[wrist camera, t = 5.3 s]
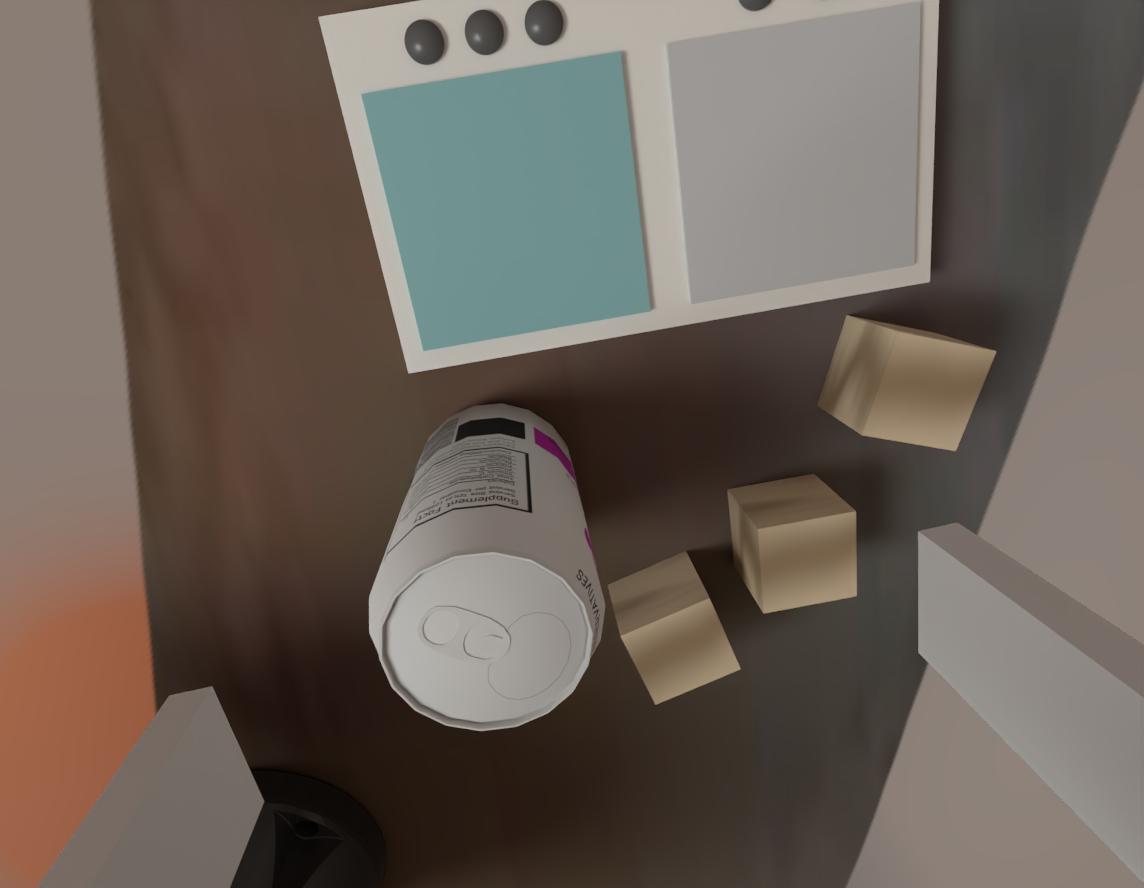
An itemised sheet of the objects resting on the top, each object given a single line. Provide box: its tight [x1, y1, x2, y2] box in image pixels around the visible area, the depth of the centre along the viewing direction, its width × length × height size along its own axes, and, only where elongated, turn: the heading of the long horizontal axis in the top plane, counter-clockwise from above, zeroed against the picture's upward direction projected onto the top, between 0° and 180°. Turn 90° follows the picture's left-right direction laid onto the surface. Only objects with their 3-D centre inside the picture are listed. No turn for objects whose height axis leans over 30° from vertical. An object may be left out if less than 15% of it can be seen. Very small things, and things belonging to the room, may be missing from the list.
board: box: [318, 0, 939, 373], centre depth 30 cm, size 15×26×2 cm, turn 99°
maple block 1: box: [608, 551, 741, 705], centre depth 37 cm, size 5×5×5 cm
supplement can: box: [369, 403, 605, 731], centre depth 29 cm, size 8×8×15 cm
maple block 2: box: [727, 474, 857, 614], centre depth 36 cm, size 5×5×5 cm
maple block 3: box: [817, 315, 997, 451], centre depth 33 cm, size 5×5×5 cm
